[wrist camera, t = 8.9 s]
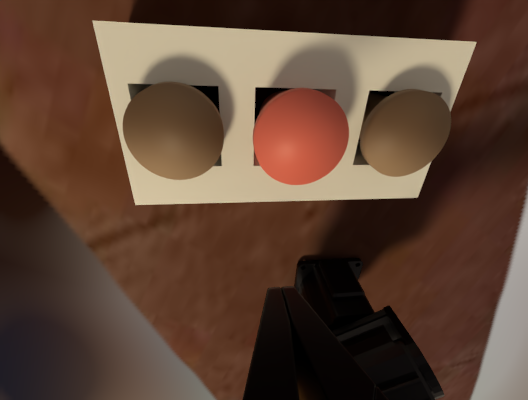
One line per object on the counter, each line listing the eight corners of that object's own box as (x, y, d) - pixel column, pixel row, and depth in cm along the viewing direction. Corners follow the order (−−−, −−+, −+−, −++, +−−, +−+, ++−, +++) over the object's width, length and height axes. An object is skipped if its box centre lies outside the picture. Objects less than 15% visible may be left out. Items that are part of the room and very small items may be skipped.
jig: (383, 170, 22) (417, 197, 18) (153, 173, 20) (135, 204, 16) (420, 42, 17) (476, 42, 13) (126, 26, 15) (92, 20, 11)
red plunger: (311, 149, 19) (339, 184, 14) (246, 149, 18) (252, 185, 14) (320, 78, 17) (358, 91, 12) (246, 75, 16) (255, 88, 11)
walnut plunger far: (384, 145, 20) (432, 176, 16) (326, 145, 20) (357, 177, 15) (403, 79, 18) (465, 92, 13) (337, 77, 17) (379, 89, 13)
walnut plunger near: (225, 145, 19) (225, 179, 14) (157, 145, 18) (133, 180, 14) (223, 73, 17) (222, 85, 12) (145, 70, 16) (111, 82, 11)
